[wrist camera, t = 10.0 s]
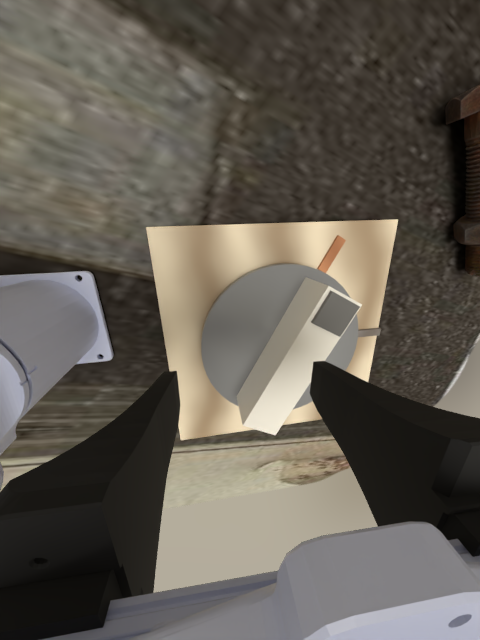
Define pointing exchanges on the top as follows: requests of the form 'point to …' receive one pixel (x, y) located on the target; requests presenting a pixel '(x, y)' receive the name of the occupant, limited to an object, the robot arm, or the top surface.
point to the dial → (276, 339)
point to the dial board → (235, 261)
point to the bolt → (469, 175)
